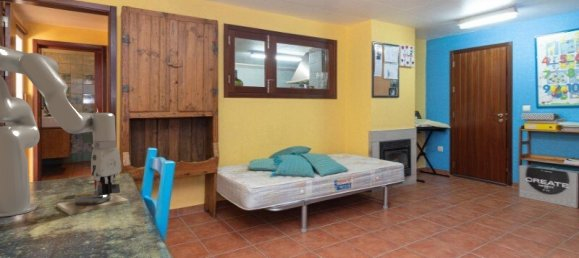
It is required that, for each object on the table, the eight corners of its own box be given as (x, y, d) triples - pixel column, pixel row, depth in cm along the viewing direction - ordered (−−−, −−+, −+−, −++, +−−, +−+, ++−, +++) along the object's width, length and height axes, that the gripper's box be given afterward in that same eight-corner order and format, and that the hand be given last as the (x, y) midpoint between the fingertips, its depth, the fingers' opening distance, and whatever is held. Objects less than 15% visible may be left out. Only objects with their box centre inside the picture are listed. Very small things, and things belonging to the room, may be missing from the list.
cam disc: (80, 207, 120) (79, 191, 119) (70, 201, 128) (69, 186, 127) (122, 198, 131) (121, 184, 130) (110, 193, 139) (110, 179, 138)
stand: (69, 215, 116) (69, 206, 115) (57, 206, 126) (56, 198, 126) (128, 202, 131) (128, 194, 130) (112, 195, 141) (112, 188, 141)
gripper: (95, 148, 116) (98, 199, 117) (128, 143, 130) (130, 189, 131) (79, 147, 118) (82, 197, 119) (112, 143, 132) (115, 188, 134)
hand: (107, 193), depth 125 cm, fingers closed
